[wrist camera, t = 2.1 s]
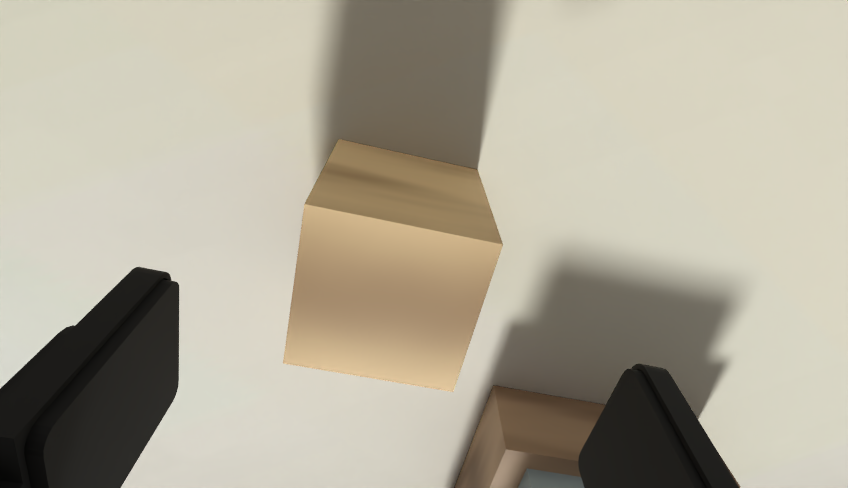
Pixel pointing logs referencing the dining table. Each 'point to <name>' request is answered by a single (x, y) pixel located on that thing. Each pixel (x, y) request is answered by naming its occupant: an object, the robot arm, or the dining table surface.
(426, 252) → the oak block
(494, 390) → the walnut slab
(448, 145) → the dining table surface
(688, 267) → the dining table surface
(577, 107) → the dining table surface
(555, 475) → the slate-grey block
